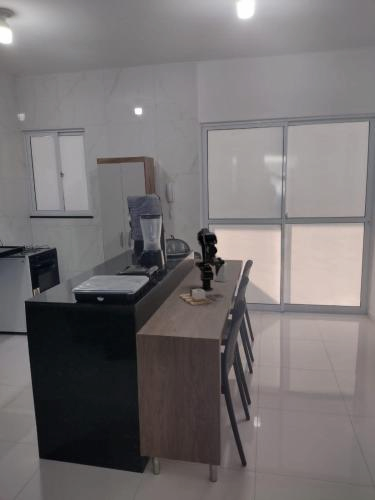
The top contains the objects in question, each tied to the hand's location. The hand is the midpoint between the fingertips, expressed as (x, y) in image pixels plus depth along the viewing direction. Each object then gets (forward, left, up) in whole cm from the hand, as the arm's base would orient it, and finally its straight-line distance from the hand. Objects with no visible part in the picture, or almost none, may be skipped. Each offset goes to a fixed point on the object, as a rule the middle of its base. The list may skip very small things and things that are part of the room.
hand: (210, 276), depth 239 cm
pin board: (+6, -13, -12) cm, 19 cm away
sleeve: (+11, -13, -11) cm, 20 cm away
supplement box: (-29, +24, -12) cm, 40 cm away
